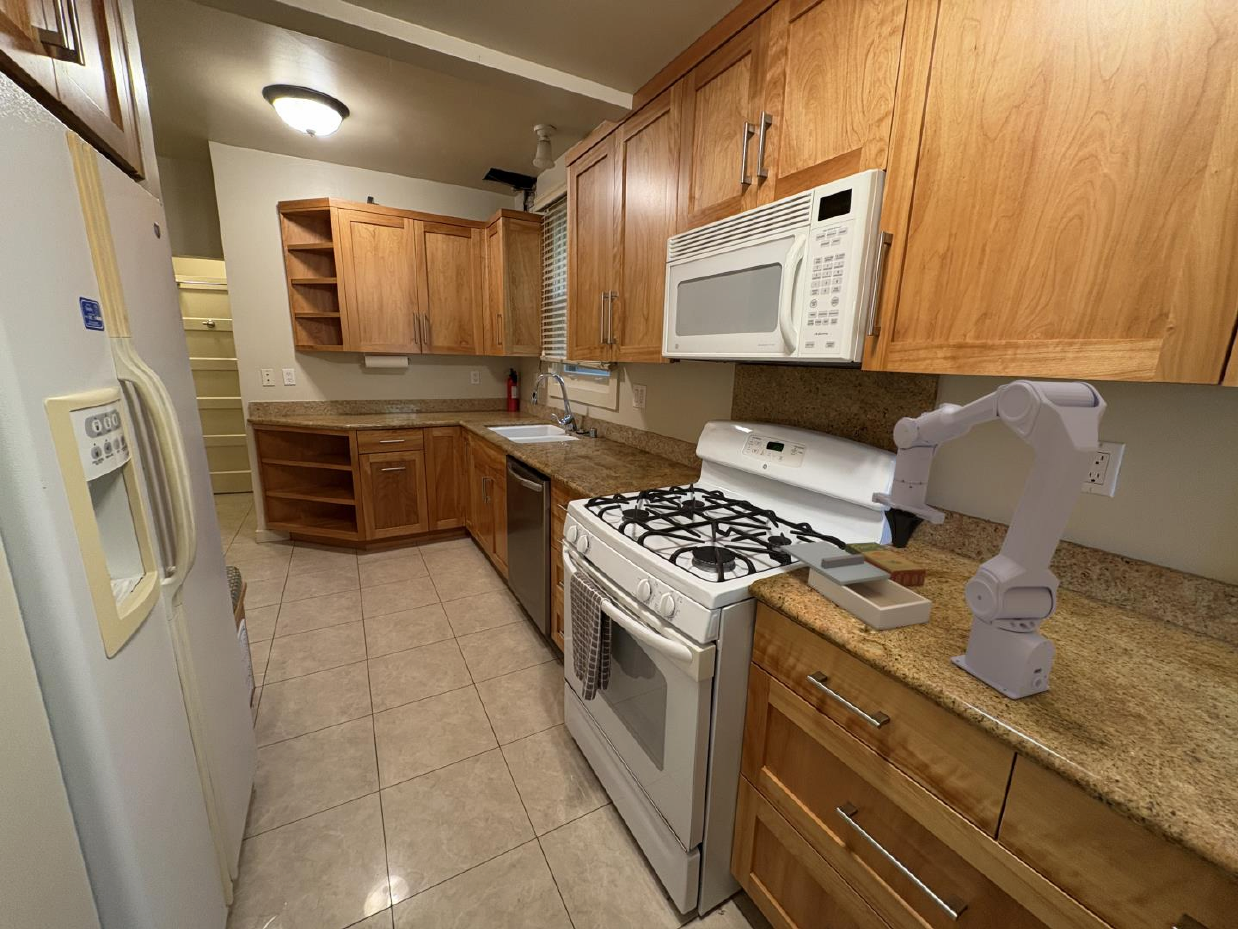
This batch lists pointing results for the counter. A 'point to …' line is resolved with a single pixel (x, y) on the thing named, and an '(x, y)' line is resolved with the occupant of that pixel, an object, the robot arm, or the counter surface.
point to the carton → (889, 563)
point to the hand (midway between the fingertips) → (899, 546)
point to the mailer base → (875, 601)
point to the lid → (835, 562)
